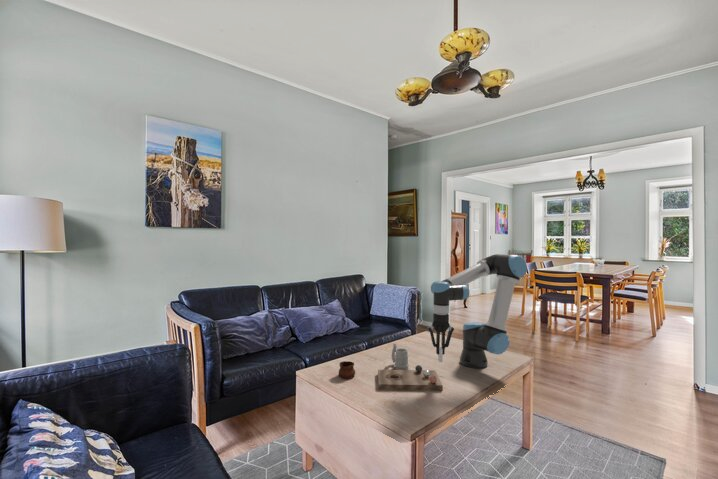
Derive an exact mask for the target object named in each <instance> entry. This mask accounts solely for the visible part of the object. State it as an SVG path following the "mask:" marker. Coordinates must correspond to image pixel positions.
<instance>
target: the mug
mask: <svg viewBox="0 0 718 479" xmlns="http://www.w3.org/2000/svg"><path fill="white" fill-rule="evenodd" d="M408 353H409V352H408V349H406V348H397V344H396V343H393V346H392V351H391V361H392V363H394V368H395V370H409V355H408Z"/></svg>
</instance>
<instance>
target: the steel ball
mask: <svg viewBox="0 0 718 479" xmlns="http://www.w3.org/2000/svg"><path fill="white" fill-rule="evenodd" d="M423 375H424V377H426V378H428V377H429V376H430V372H429V371H428V369H426V370H425V371H424V372H423Z"/></svg>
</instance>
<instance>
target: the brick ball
mask: <svg viewBox="0 0 718 479" xmlns="http://www.w3.org/2000/svg"><path fill="white" fill-rule="evenodd" d="M429 380H430V382H431V383H436V381H437V378H436V376H434V375H432V376H430V378H429Z"/></svg>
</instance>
